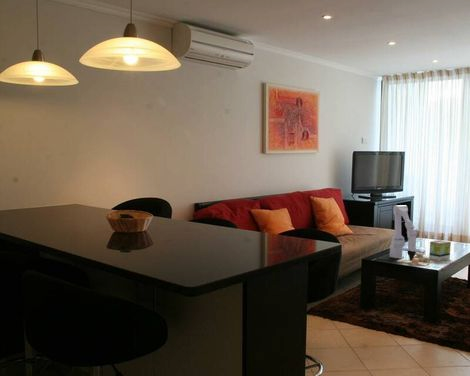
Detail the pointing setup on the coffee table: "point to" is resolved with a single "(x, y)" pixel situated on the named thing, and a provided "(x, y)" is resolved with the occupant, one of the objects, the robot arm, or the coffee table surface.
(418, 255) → the tall block middle
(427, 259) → the short block right
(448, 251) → the tea box
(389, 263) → the coffee table surface
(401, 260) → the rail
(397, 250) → the robot arm
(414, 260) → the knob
